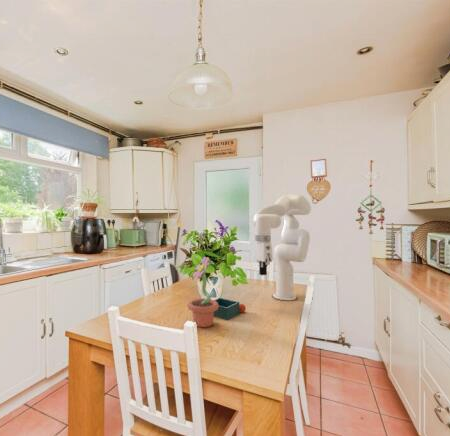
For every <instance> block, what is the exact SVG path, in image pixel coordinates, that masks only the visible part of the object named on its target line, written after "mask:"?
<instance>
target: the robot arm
mask: <svg viewBox="0 0 450 436" xmlns="http://www.w3.org/2000/svg"><path fill="white" fill-rule="evenodd" d="M311 210H312V206H311V203H310V201H309V200H308V199H307V198H306V197H305V196H304V195H303V194H299V193H295V194H284V195H280V197H279V198H278V199H277V200H276V201H275V202H274V203H272V204H270V205H268V206H265V207H263V208H260V209H259V210H258V211H257V212H256V213H255V214H254V216H253V219H252V223H253V226H254V228H255V235H254V236H255V237H254V238H255V239H254V240H255V245H254V258H255V260H256V262H257V263H258V267H259V271H258V272H259V275H260V276H266V275H268V273H267V272H268V270H267V268H268V266H269V265H270V264H271V262H273V261H274V260H273V259H274V258H275V263H276V264H275V274H276V275H275V278H276V279H275V293H273V296H272V297H273V298H274V299H276V300H280V301H295V300H297V296H296V295H295V294H294V291H295V289H294V267H293V265H292V263H291V262H295V263H303V262H305V261H306V259H307V255H308V250H309V245H310V239H311V238H310V237H311V236H310V232H309V231H308V230H307V229H303V228H299V227H300V223H299V221H298V219H297V218H296V217H295V216H307V215H309V214H310V213H311ZM281 218H283V222H284V223H283V227H282V231H281V236H280V240H281V242H282V243H281V244H277V245H276V246H275V248H274V256H275V257H274V256H273V245H272V229H278V228H279V227H280V226H281V224H282V219H281ZM273 257H274V258H273Z"/></svg>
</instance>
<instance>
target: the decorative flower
mask: <svg viewBox="0 0 450 436" xmlns="http://www.w3.org/2000/svg"><path fill="white" fill-rule="evenodd" d="M200 262H201V264H197V266H195V269H194V271H195V272H194V273H193V275H192V277H193V278H194V280H198V279H200V278H201V280H202V283H201V292H202V294H203V295H204V296H205V297H206V298H195V299H192V300H190V301H189V302H188V303H187V309H188V310H189V311H190V312H192V322H193V321H194V322H196V324H197V326H196V327H199V328H209V327H211V326H213V324H214V319H215V318H214V317H215V316H214V311H216V310H217V309H218V307H219V305H218V303H217V302H216V301H214V300H215V299H211V298H212V297H215V296H216V294H212V295H211V294H210V293H209V292H208V291H207V275H206V272H207V271H206V269H207V268H208V267H210V265H211V261H210V258H209V256H207V257H206V256H203V257H202V258H201V261H200ZM194 322H193V323H194Z"/></svg>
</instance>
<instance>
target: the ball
mask: <svg viewBox="0 0 450 436" xmlns="http://www.w3.org/2000/svg"><path fill="white" fill-rule="evenodd" d="M246 310H247V307H246V305H244V304H243V303H239V313H245V312H246Z"/></svg>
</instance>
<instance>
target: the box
mask: <svg viewBox="0 0 450 436" xmlns="http://www.w3.org/2000/svg"><path fill="white" fill-rule="evenodd" d="M213 300H214V301H216V302H217V303H218V305H219V307H218V309H217V310H216V311H214V317H216V318H219V319H223V320H226V321H227V320H230V319H232V318H234V317H235V316H236V315H239V314H240V312H239V305H240V301H236V300H232V299H228V298H223V297H217V298H216V299H213Z"/></svg>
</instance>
